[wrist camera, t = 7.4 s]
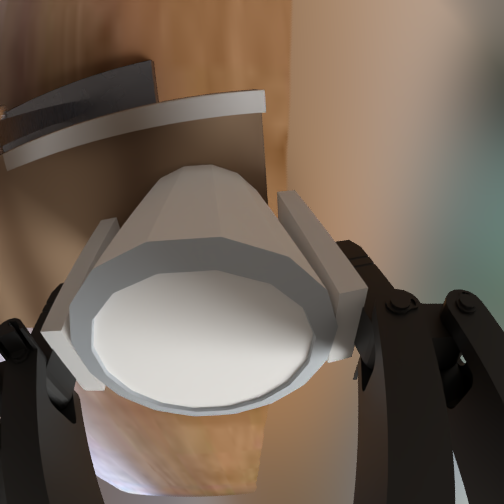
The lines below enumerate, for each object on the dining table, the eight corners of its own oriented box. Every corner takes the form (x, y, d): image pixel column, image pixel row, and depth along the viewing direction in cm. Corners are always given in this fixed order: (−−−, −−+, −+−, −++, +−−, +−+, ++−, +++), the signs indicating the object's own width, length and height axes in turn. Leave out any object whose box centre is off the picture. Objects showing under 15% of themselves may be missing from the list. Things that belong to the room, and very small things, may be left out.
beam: (-34, 305, 17) (-54, 338, 13) (-81, 202, 11) (-112, 228, 7) (266, 280, 18) (278, 334, 14) (252, 89, 12) (266, 90, 8)
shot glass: (228, 307, 15) (243, 430, 9) (104, 252, 13) (54, 377, 7) (311, 202, 13) (390, 313, 7) (170, 118, 10) (116, 169, 4)
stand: (53, 268, 28) (8, 356, 17) (5, 115, 18) (-88, 153, 7) (185, 246, 29) (181, 349, 18) (153, 61, 19) (106, 38, 8)
